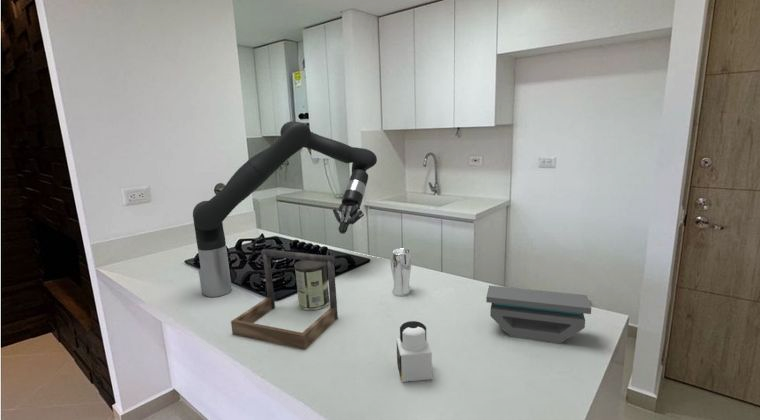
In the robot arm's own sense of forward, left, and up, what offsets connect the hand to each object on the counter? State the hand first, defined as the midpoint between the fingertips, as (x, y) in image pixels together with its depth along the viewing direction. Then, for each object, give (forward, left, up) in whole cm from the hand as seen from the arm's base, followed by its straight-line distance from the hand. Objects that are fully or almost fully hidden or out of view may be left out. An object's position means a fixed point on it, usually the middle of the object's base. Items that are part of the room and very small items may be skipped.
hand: (341, 232), depth 146 cm
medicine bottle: (+34, -53, -18) cm, 65 cm away
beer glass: (+24, -10, -18) cm, 31 cm away
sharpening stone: (+64, -31, -18) cm, 73 cm away
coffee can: (-4, -22, -18) cm, 29 cm away
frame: (-6, -37, -18) cm, 41 cm away
